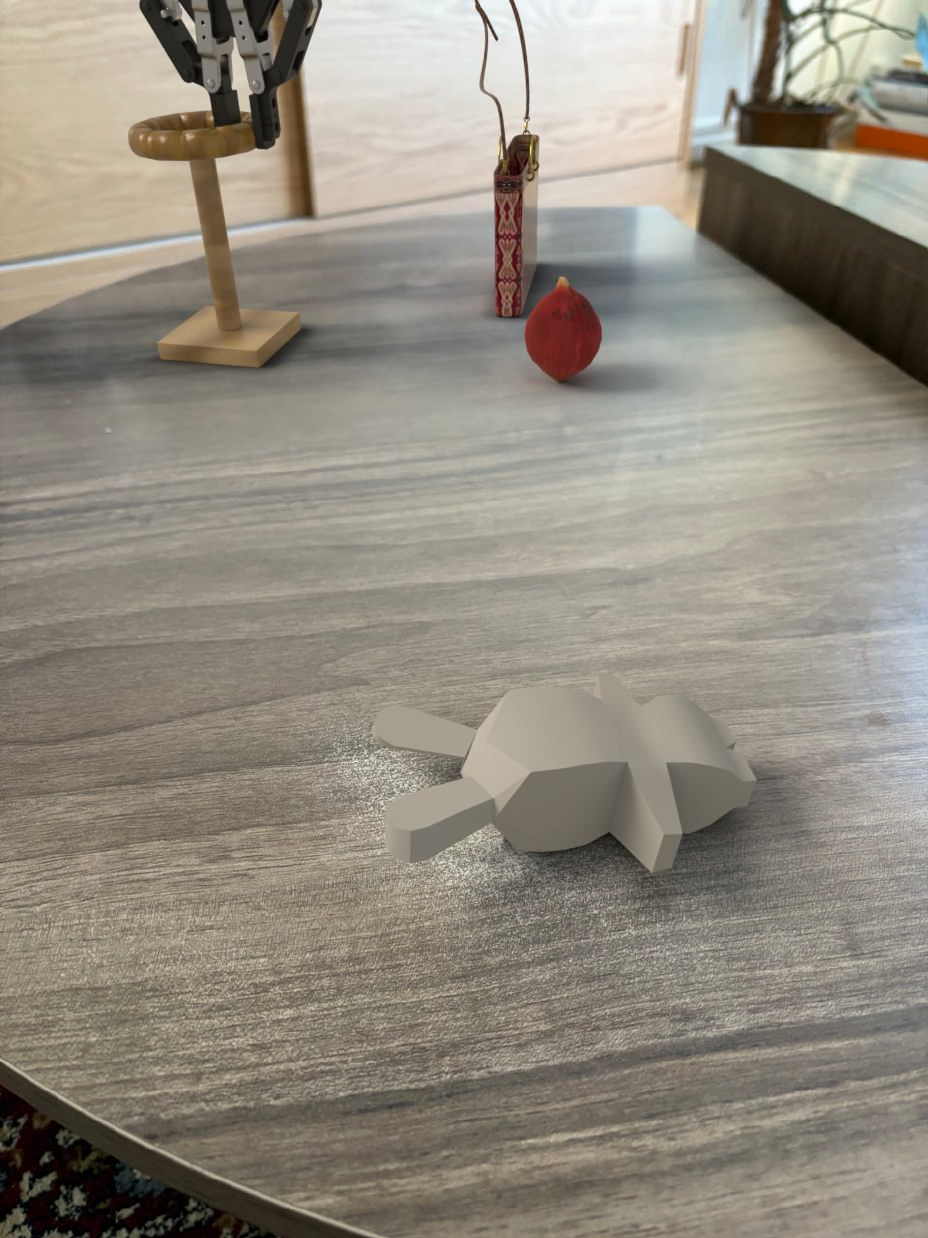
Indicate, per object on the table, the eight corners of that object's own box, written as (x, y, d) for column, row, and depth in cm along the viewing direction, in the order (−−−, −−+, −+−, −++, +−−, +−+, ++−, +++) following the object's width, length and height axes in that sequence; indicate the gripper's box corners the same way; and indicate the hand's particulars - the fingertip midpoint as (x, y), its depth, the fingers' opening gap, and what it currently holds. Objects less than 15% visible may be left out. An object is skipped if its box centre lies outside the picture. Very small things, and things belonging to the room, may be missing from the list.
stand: (160, 359, 83) (117, 159, 74) (209, 321, 90) (175, 134, 81) (259, 368, 81) (228, 164, 72) (301, 328, 88) (277, 137, 79)
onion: (613, 378, 78) (620, 275, 73) (568, 403, 74) (573, 296, 70) (554, 360, 81) (557, 260, 76) (509, 383, 78) (509, 280, 73)
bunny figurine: (797, 803, 37) (393, 823, 34) (760, 893, 40) (385, 917, 37) (709, 647, 44) (372, 653, 42) (683, 732, 47) (367, 743, 45)
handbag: (547, 250, 105) (554, -33, 90) (525, 321, 88) (530, -11, 73) (479, 249, 106) (475, -31, 91) (445, 319, 89) (433, -10, 74)
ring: (105, 162, 73) (98, 133, 72) (171, 135, 82) (166, 108, 80) (235, 163, 71) (230, 133, 70) (289, 135, 79) (285, 107, 78)
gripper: (329, -145, 66) (352, 139, 77) (143, -138, 69) (190, 133, 80) (285, -146, 60) (316, 161, 71) (84, -139, 64) (143, 154, 74)
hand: (249, 145), depth 75 cm, fingers closed on ring, 2 cm apart
